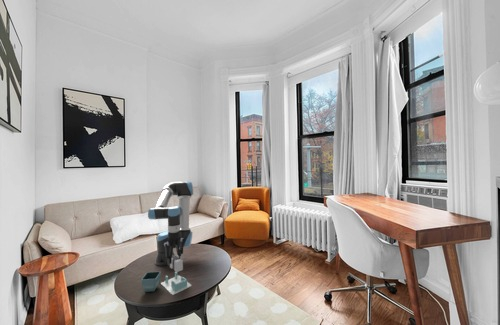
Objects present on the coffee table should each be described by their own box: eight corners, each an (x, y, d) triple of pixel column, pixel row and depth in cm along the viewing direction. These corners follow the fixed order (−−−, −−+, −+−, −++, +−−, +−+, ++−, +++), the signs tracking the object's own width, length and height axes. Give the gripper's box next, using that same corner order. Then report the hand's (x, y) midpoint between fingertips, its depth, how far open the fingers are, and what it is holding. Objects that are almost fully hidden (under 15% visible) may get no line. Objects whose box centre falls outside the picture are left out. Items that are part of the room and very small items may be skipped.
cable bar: (166, 264, 139) (166, 255, 139) (172, 262, 142) (172, 253, 142) (176, 272, 129) (176, 262, 130) (182, 269, 132) (182, 260, 133)
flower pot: (147, 285, 135) (146, 271, 135) (161, 284, 135) (160, 271, 135) (141, 294, 126) (140, 279, 126) (156, 293, 127) (155, 278, 127)
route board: (160, 283, 136) (160, 277, 136) (179, 275, 146) (179, 269, 146) (172, 295, 125) (172, 288, 125) (191, 285, 134) (191, 279, 134)
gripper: (164, 235, 127) (164, 273, 127) (188, 229, 139) (189, 264, 139) (159, 232, 133) (159, 269, 133) (183, 226, 144) (183, 260, 145)
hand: (174, 266), depth 136 cm, fingers closed on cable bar, 3 cm apart
